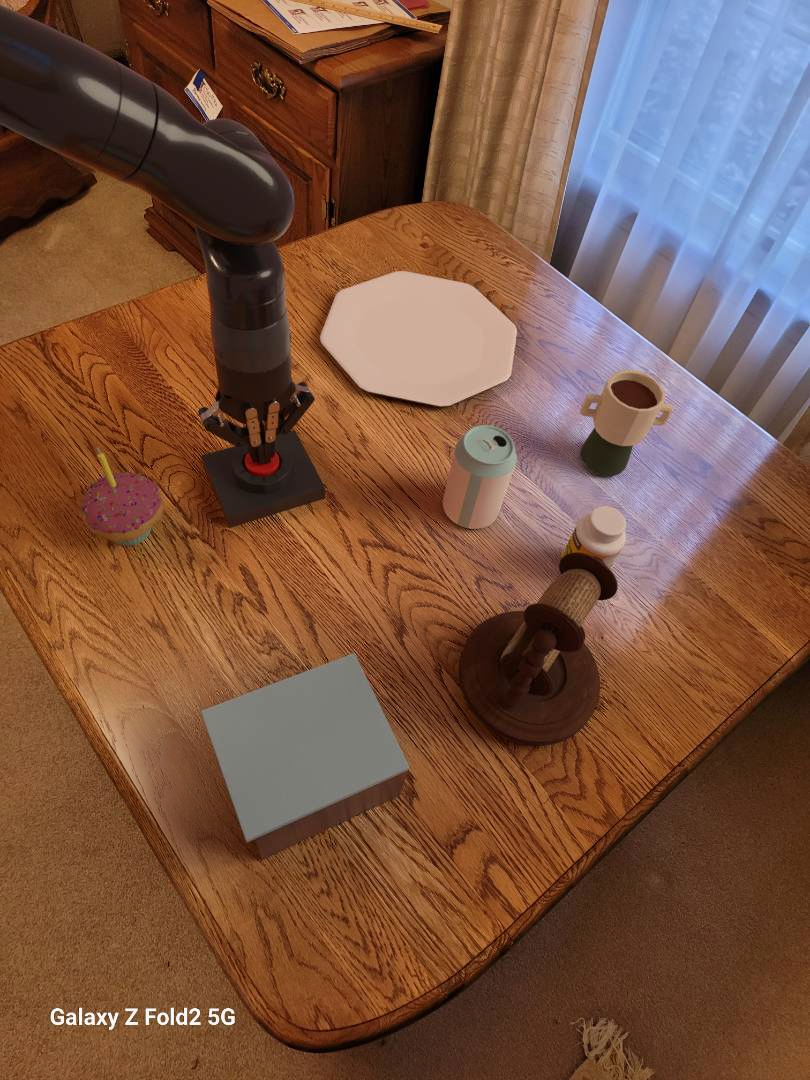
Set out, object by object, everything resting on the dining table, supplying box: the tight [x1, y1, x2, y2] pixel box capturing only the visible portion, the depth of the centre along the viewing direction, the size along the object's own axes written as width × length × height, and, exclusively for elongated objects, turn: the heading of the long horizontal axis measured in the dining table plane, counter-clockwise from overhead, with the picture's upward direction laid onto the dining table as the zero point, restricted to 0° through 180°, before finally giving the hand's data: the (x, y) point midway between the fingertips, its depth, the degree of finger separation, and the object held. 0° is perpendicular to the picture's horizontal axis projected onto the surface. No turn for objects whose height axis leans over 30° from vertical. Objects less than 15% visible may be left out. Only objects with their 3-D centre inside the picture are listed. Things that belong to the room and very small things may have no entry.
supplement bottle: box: [558, 505, 627, 570], centre depth 84 cm, size 6×6×10 cm
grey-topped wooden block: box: [200, 652, 410, 843], centre depth 64 cm, size 15×12×1 cm
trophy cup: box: [579, 369, 674, 478], centre depth 93 cm, size 11×7×13 cm, turn 86°
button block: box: [200, 429, 326, 529], centre depth 89 cm, size 12×10×4 cm
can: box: [442, 424, 518, 530], centre depth 87 cm, size 7×7×12 cm
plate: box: [319, 270, 518, 408], centre depth 108 cm, size 28×28×2 cm
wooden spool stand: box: [458, 552, 619, 747], centre depth 71 cm, size 15×15×20 cm
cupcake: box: [81, 447, 165, 547], centre depth 80 cm, size 9×8×12 cm
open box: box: [254, 770, 409, 861], centre depth 68 cm, size 14×12×8 cm
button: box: [245, 452, 280, 477], centre depth 88 cm, size 4×4×2 cm
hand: (261, 458), depth 87 cm, fingers closed
